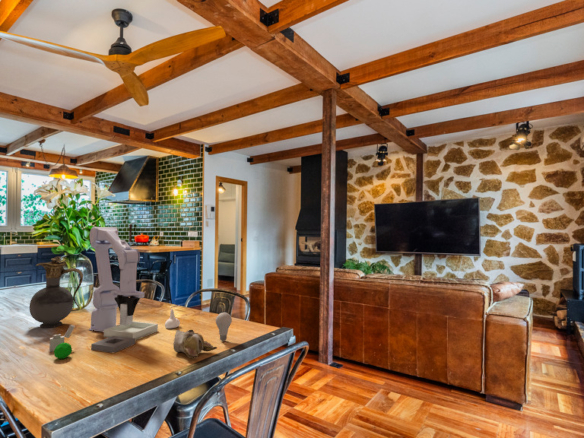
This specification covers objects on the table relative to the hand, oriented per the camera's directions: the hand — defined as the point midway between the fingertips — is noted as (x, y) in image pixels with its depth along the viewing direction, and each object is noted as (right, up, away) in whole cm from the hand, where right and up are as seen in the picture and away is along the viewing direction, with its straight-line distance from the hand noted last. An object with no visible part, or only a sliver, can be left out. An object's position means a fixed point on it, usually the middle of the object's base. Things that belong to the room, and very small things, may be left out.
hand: (126, 314), depth 132 cm
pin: (0, -4, 0) cm, 4 cm away
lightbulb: (+38, -10, -2) cm, 40 cm away
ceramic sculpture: (+30, -9, -16) cm, 36 cm away
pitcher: (-39, -9, +15) cm, 43 cm away
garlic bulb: (+13, -10, +15) cm, 22 cm away
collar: (0, -9, -10) cm, 14 cm away
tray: (0, -9, +4) cm, 10 cm away
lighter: (-16, -8, -14) cm, 23 cm away
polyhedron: (-10, -8, -22) cm, 26 cm away
